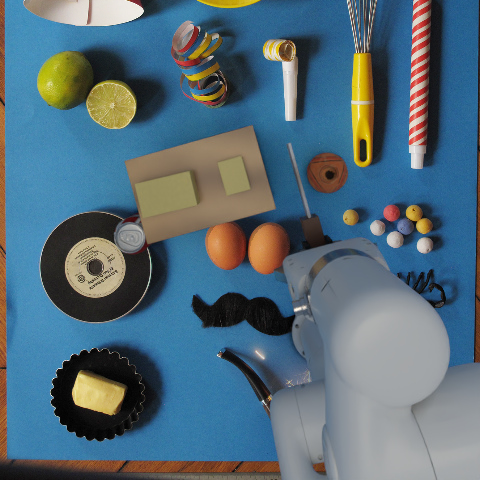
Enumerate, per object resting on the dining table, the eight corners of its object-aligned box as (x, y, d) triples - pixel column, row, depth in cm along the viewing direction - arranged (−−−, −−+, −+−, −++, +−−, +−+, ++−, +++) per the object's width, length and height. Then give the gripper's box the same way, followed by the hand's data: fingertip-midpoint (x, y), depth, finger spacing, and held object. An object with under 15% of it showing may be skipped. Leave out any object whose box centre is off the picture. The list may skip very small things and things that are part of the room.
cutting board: (269, 195, 85) (276, 209, 62) (175, 221, 86) (147, 244, 63) (252, 133, 85) (252, 124, 62) (158, 160, 86) (124, 160, 63)
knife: (332, 277, 56) (337, 284, 53) (317, 281, 56) (320, 288, 53) (295, 141, 56) (297, 140, 53) (279, 145, 56) (281, 145, 53)
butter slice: (227, 194, 62) (250, 188, 62) (226, 196, 60) (250, 189, 60) (218, 162, 62) (241, 155, 62) (217, 162, 60) (241, 155, 60)
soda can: (159, 246, 86) (144, 260, 74) (127, 239, 86) (107, 252, 74) (165, 213, 86) (152, 223, 74) (133, 207, 86) (114, 215, 74)
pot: (354, 178, 84) (356, 184, 78) (319, 195, 86) (318, 203, 80) (335, 143, 84) (335, 147, 78) (301, 161, 86) (298, 166, 80)
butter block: (200, 202, 62) (197, 205, 59) (148, 214, 63) (142, 218, 59) (192, 170, 62) (189, 170, 59) (141, 182, 63) (134, 183, 59)
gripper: (273, 355, 37) (266, 291, 56) (448, 310, 37) (383, 260, 55) (251, 274, 37) (251, 237, 56) (425, 228, 37) (368, 206, 55)
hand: (317, 249), depth 55 cm, fingers closed on knife, 2 cm apart
